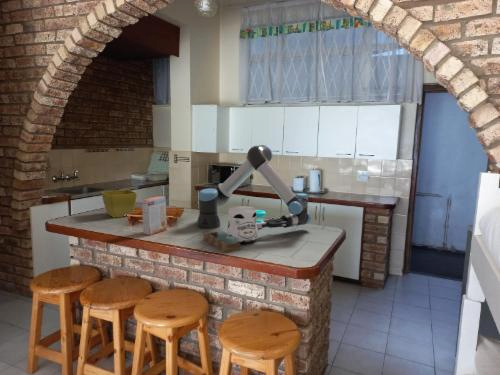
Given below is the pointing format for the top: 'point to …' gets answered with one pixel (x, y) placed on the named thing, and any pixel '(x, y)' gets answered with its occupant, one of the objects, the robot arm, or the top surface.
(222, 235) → the block
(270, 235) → the top surface
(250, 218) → the milk container
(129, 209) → the flower pot
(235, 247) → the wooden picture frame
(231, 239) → the block
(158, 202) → the cracker box
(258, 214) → the donuts
